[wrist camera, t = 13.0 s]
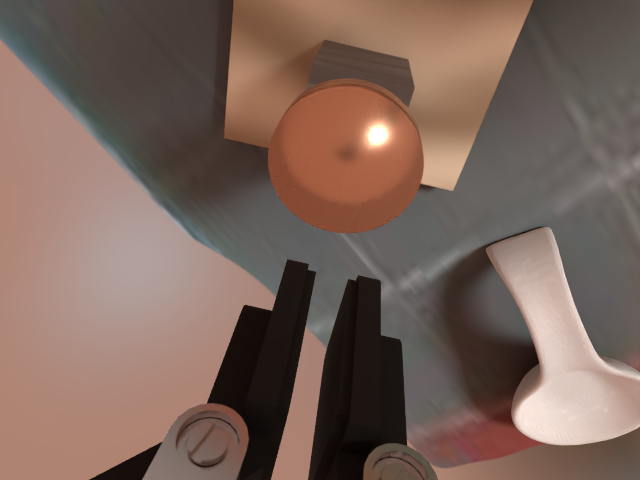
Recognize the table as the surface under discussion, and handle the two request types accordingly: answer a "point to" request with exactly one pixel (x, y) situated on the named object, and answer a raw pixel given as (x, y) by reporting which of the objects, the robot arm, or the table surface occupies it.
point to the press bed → (374, 64)
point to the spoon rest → (562, 353)
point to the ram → (346, 156)
